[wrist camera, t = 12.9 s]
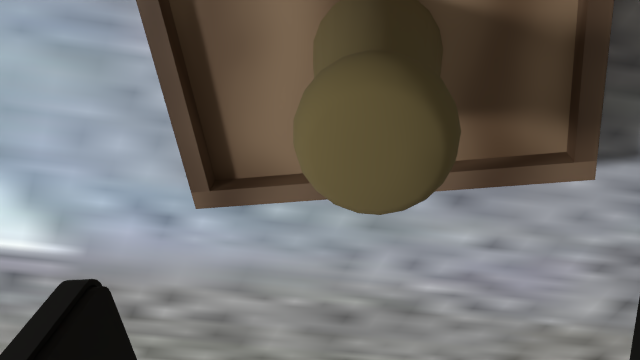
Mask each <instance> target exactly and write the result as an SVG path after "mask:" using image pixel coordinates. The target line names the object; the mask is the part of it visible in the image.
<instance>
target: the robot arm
mask: <svg viewBox="0 0 640 360" xmlns="http://www.w3.org/2000/svg"><path fill="white" fill-rule="evenodd" d="M0 360H137V358H136V356H135V353H134V351H133V348H132V346H131V343H130V340H129V338H128V335H127V333H126V330H125V328H124V325H123V323H122V320H121V318H120V315H119V313H118V310H117V307H116V305H115V302H114V300H113V297H112V295H111V292H110V291H109V289H108V288H107V287H104V286H102V285H101V283H100V282H99V281H98V280H95V279H85V280H67V281H64V282H62V283H61V284H60V285H59V286H58V287H57V288H56V289H55V290H54V292H53V293H52V294H51V295H50V296H49V298H48V299H47V300H46V301H45V302H44V303H43V305H42V306H41V307H40V308H39V309H38V311H37V312H36V313H35V314H34V315H33V317H32V318H31V319H30V320H29V321H28V323H27V324H26V325H25V326H24V327H23V328H22V330H21V331H20V332H19V333H18V334H17V336H16V337H15V338H14V339H13V340H12V342H11V343H10V344H9V345H8V346H7V347H6V349H5V350H4V351H3V352H2V353H1V355H0ZM630 360H640V298H639V304H638V310H637V317H636V323H635V329H634V335H633V342H632V348H631V354H630Z"/></svg>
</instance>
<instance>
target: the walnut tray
mask: <svg viewBox="0 0 640 360" xmlns="http://www.w3.org/2000/svg"><path fill="white" fill-rule="evenodd" d="M339 1H340V0H136V2H137V5H138V9H139V12H140V16H141V19H142V23H143V26H144V30H145V33H146V37H147V40H148V44H149V47H150V51H151V54H152V58H153V61H154V65H155V68H156V71H157V75H158V78H159V82H160V85H161V89H162V92H163V96H164V99H165V103H166V106H167V110H168V113H169V117H170V120H171V124H172V127H173V131H174V134H175V138H176V141H177V145H178V148H179V152H180V155H181V159H182V162H183V165H184V169H185V172H186V176H187V179H188V183H189V186H190V190H191V193H192V197H193V200H194V204H195V207H196V209H202V208H216V207H229V206H243V205H256V204H270V203H284V202H297V201H311V200H325V199H327V198H325V197H324V196H323V195H321V194H320V193H318V192H317V191H316V190H315V189H314V188H313V186H312V185H311V183H310V182H309V181H308V179H307V178H306V177H305V175H304V174H303V173H302V170H301V167H300V164H299V161H298V158H297V155H296V152H295V149H294V145H293V120H294V117H295V114H296V111H297V109H298V106H299V103H300V100H301V98H302V95H303V93H304V91H305V89H306V88H307V87H308V85H309V84H310V83H311V82H312V81H313V79H314V70H313V41H314V38H315V36H316V33H317V30H318V27H319V25H320V22H321V21H322V19H323V18H324V17H325V15H326V14H327V13H328V12H329V10H330V9H331V8H332V6H333V5H335V4H336V3H337V2H339ZM418 1H419V2H420V3H421V4H422V5H423V6H425V7H426V8H427V9H428V10H429V11H430V13H431V15H432V16H433V18H434V20H435V22H436V23H437V25H438V27H439V29H440V34H441V40H442V45H443V55H442V65H441V74H440V78H442V80H443V82H444V84H445V85H446V87H447V89H448V90H449V92H450V94H451V96H452V97H453V99H454V101H455V104H456V106H457V110H458V116H459V122H460V127H461V136H460V141H459V147H458V153H457V157H456V161H455V163H454V165H453V167H452V169H451V171H450V172H449V174H448V176H447V178H446V180H445V181H444V183H443V184H442V185H441V186H440V187H439V188H438V189H437V190H436V191H447V190H461V189H474V188H488V187H502V186H515V185H529V184H542V183H556V182H570V181H583V180H595V174H596V164H597V155H598V146H599V136H600V127H601V118H602V108H603V99H604V90H605V80H606V71H607V62H608V52H609V43H610V34H611V24H612V15H613V6H614V0H418Z"/></svg>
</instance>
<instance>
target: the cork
mask: <svg viewBox="0 0 640 360" xmlns="http://www.w3.org/2000/svg"><path fill="white" fill-rule="evenodd" d="M442 55H443V45H442V40H441V34H440V29H439V27H438V25H437V23H436V22H435V20H434V18H433V16H432V15H431V13H430V11H429V10H428V9H427V8H426V7H425V6H423V5H422V4H421V3H420V2H419V1H418V0H340V1H339V2H337V3H336V4H335V5H333V6H332V8H331V9H330V10H329V12H328V13H327V14H326V15H325V17H324V18H323V19H322V21H321V22H320V25H319V27H318V30H317V33H316V36H315V38H314V41H313V70H314V79H313V81H312V82H311V83H310V84H309V85H308V87H307V88H306V89H305V91H304V93H303V95H302V98H301V100H300V103H299V106H298V109H297V111H296V114H295V117H294V120H293V145H294V149H295V152H296V155H297V158H298V161H299V164H300V167H301V170H302V173H303V174H304V175H305V177H306V178H307V179H308V181H309V182H310V183H311V185H312V186H313V188H314V189H315V190H316V191H317V192H318V193H320V194H321V195H323V196H324V197H325V198H327V199H328V200H329V201H331V202H332V203H333V204H335V205H338V206H340V207H343V208H346V209H349V210H351V211H354V212H357V213H364V214H376V215H382V214H387V213H393V212H398V211H403V210H406V209H408V208H410V207H412V206H414V205H416V204H418V203H420V202H422V201H424V200H426V199H427V198H428V197H429V196H430V195H431V194H432V193H433V192H435V191H436V190H437V189H438V188H439V187H440V186H441V185H442V184H443V183H444V181H445V180H446V178H447V176H448V174H449V172H450V171H451V169H452V167H453V165H454V163H455V161H456V157H457V153H458V147H459V141H460V136H461V127H460V122H459V116H458V110H457V106H456V104H455V101H454V99H453V97H452V96H451V94H450V92H449V90H448V89H447V87H446V85H445V84H444V82H443V80H442V78H440V74H441V65H442Z"/></svg>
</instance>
